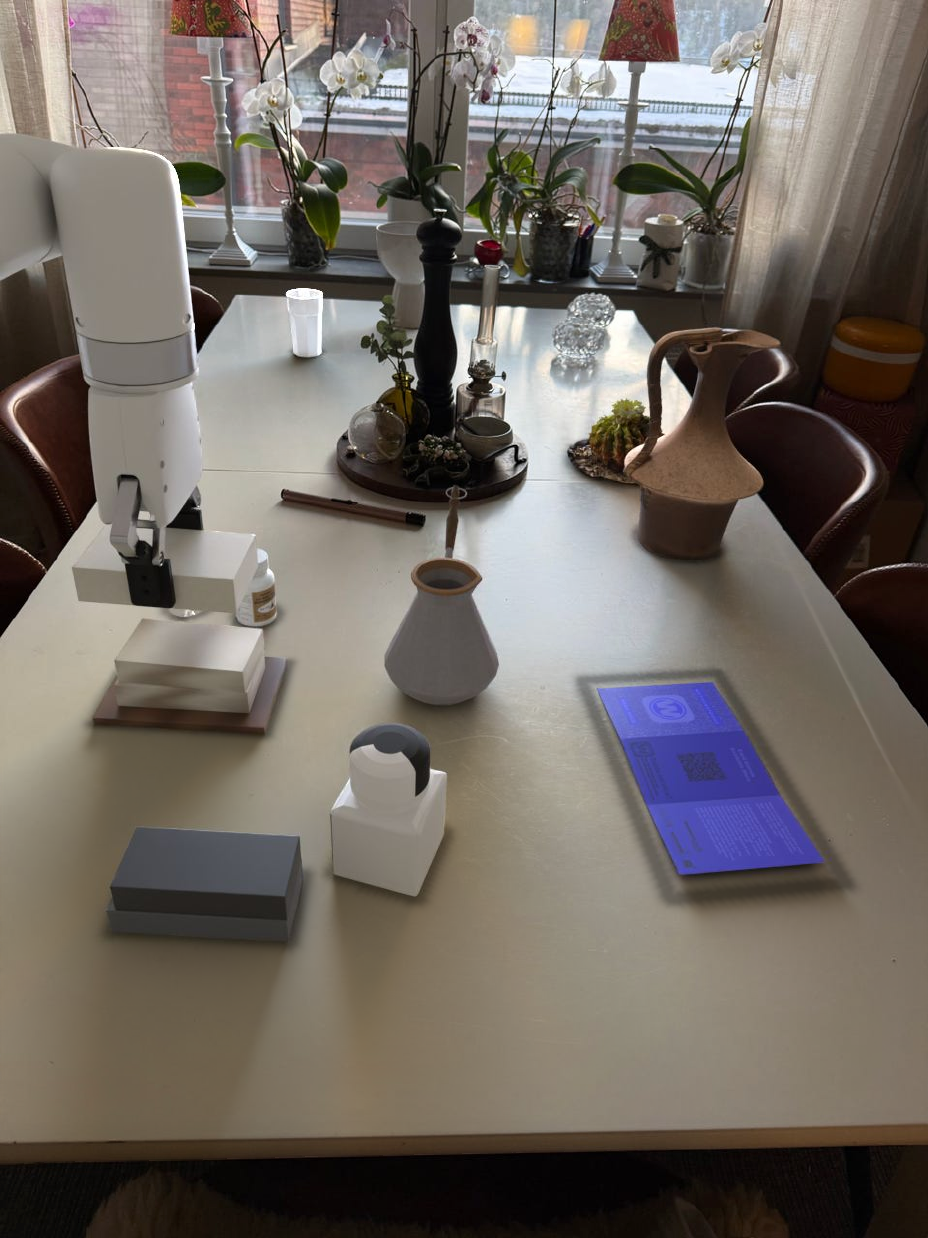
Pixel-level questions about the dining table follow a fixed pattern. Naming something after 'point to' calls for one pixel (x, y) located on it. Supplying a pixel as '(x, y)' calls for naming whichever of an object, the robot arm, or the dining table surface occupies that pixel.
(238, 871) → the grey books
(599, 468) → the cactus
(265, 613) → the pill bottle
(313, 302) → the cup
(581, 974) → the dining table surface
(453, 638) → the coffee pot
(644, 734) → the booklet
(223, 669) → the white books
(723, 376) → the pitcher
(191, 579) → the white book
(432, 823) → the blocky figurine
